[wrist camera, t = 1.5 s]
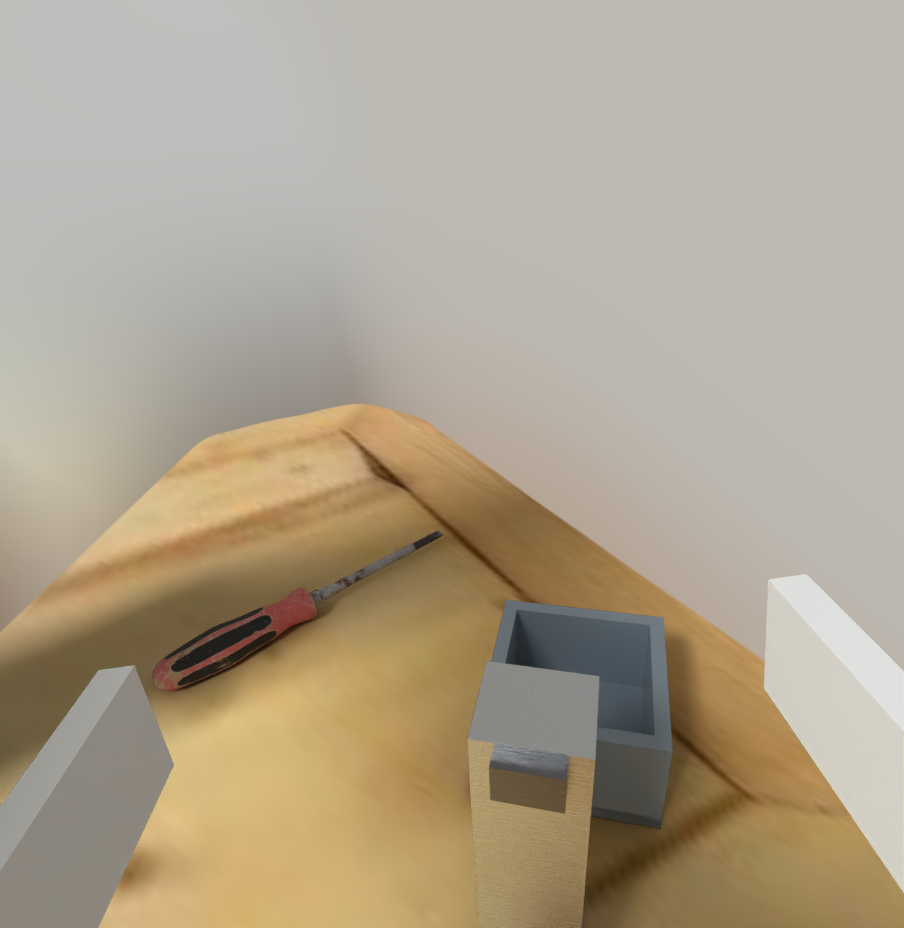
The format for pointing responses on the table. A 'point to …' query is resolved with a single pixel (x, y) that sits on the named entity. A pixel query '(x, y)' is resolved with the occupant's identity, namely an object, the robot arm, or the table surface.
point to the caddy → (606, 695)
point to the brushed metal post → (532, 794)
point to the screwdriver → (256, 628)
